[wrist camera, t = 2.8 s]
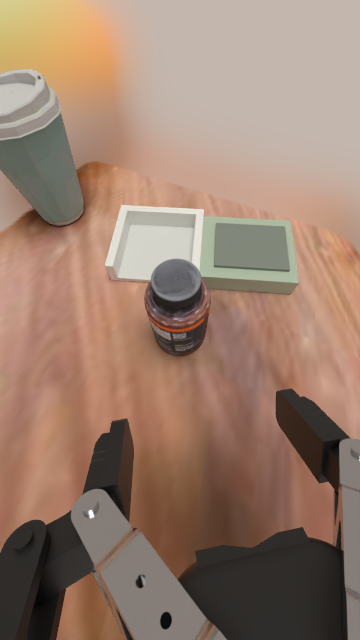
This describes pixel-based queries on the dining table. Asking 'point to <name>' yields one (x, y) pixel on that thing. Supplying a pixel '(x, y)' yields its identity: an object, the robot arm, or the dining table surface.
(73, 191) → the disposable coffee cup
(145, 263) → the chute bracket
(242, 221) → the green rectangular block
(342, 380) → the dining table surface
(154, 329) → the supplement bottle
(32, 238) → the dining table surface
